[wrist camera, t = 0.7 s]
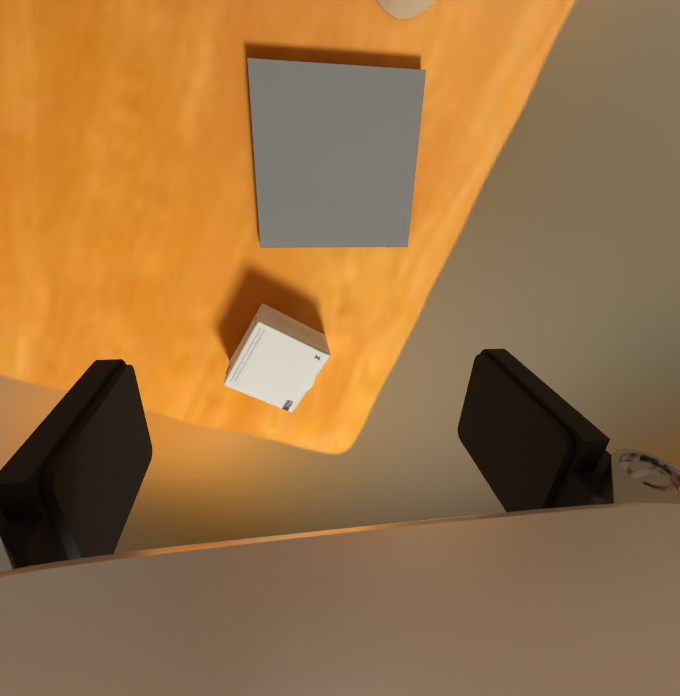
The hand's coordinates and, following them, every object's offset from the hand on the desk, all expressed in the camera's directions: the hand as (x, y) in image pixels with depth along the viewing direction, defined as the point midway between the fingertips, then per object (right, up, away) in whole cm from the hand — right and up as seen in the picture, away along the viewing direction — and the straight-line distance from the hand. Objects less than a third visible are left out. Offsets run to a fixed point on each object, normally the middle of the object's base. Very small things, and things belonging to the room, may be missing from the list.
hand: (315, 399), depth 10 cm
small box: (-6, +2, +30) cm, 31 cm away
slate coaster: (0, +18, +23) cm, 29 cm away
